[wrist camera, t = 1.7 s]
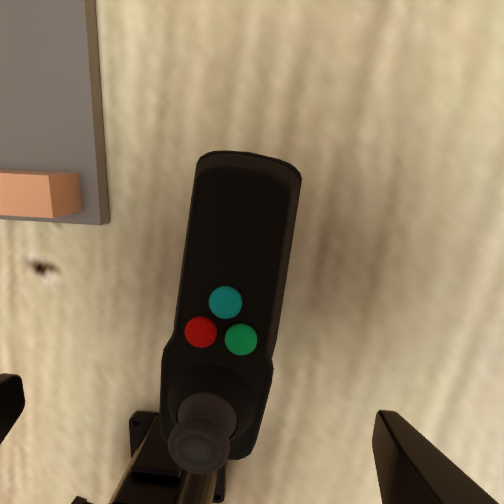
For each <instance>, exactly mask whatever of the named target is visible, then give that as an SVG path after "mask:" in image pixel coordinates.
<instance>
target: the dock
mask: <svg viewBox="0 0 504 504" xmlns="http://www.w3.org/2000/svg"><path fill="white" fill-rule="evenodd" d="M0 219H7V220H23V221H40V222H56V223H72V224H88V225H103V224H106V223H108V222H109V207H108V191H107V176H106V161H105V146H104V130H103V115H102V100H101V85H100V70H99V54H98V39H97V24H96V9H95V0H0Z"/></svg>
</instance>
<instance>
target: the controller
mask: <svg viewBox="0 0 504 504" xmlns="http://www.w3.org/2000/svg"><path fill="white" fill-rule="evenodd" d="M301 182H302V177H301V174H300V172H299V171H298V170H297V169H296V168H295V167H294V166H293V165H291V164H290V163H287V162H285V161H282V160H280V159H276V158H272V157H267V156H263V155H259V154H254V153H250V152H239V151H225V150H223V151H212V152H209V153H206V154H205V155H203V156H201V157H200V158H199V160H198V162H197V164H196V171H195V177H194V184H193V191H192V197H191V204H190V211H189V219H188V226H187V233H186V240H185V248H184V255H183V262H182V269H181V277H180V284H179V291H178V298H177V306H176V313H175V320H174V330H173V334H172V336H171V338H170V340H169V341H168V343H167V344H166V346H165V348H164V350H163V356H162V361H161V389H160V416H159V423H160V431H161V436H162V438H163V439H164V440H165V441H166V443H168V449H169V453H170V455H171V457H172V459H173V460H174V461H175V463H176V464H177V465H178V466H179V467H181V468H182V469H184V470H185V471H188V472H191V473H194V474H207V473H211V472H214V471H216V470H218V469H220V468H221V467H222V466H223V465H224V464H225V462H226V461H227V460H239V459H242V458H245V457H246V456H248V455H249V454H251V452H252V450H253V447H254V445H255V443H256V440H257V437H258V433H259V429H260V425H261V421H262V418H263V414H264V410H265V406H266V403H267V399H268V395H269V391H270V387H271V384H272V377H273V370H274V368H273V363H272V356H273V352H274V348H275V344H276V340H277V334H278V327H279V321H280V315H281V308H282V302H283V296H284V289H285V283H286V277H287V270H288V264H289V258H290V252H291V245H292V239H293V233H294V226H295V220H296V214H297V207H298V201H299V195H300V188H301Z"/></svg>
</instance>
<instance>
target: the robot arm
mask: <svg viewBox="0 0 504 504" xmlns="http://www.w3.org/2000/svg"><path fill="white" fill-rule="evenodd" d="M24 406H25V397H24V390H23V384H22V379H21V377H20V376H19V375H17V374H7V373H3V374H0V444H1V443H2V441H3V440H4V438H5V437H6V435H7V434H8V432H9V431H10V429H11V428H12V427H13V425H14V424H15V422H16V421H17V419H18V418H19V416H20V415H21V413H22V411H23V409H24ZM159 416H160V414H151V413H142V412H135V413H133V415H132V416H131V418H130V420H129V430H130V447H131V461H130V463H129V465H128V467H127V469H126V471H125V473H124V474H123V476H122V478H121V480H120V482H119V484H118V486H117V488H116V490H115V492H114V494H113V496H112V498H111V500H110V502H109V504H212V503H221V502H223V501H224V498H225V488H226V462H225V464H224V465H223V466H222V467H221V468H220V469H218V470H216V471H214V472H211V473H207V474H194V473H191V472H188V471H185V470H184V469H182V468H181V467H179V466H178V465H177V464H176V463H175V461H174V460H173V459H172V457H171V455H170V453H169V449H168V443H166V441H165V440H164V439H163V438H162V436H161V431H160V423H159ZM136 420H139V421H140V422H138V421H136ZM372 448H373V454H374V459H375V465H376V470H377V476H378V482H379V487H380V493H381V498H382V504H499V503H498V502H497V501H495V500H494V499H493V498H492V497H491V496H490V495H489V494H488V493H487V492H485V491H484V490H483V489H482V488H481V487H480V486H479V485H478V484H476V483H475V482H474V481H473V480H472V479H471V478H470V477H469V476H468V475H466V474H465V473H464V472H463V471H462V470H461V469H460V468H459V467H457V466H456V465H455V464H454V463H453V462H452V461H451V460H450V459H449V458H447V457H446V456H445V455H444V454H443V453H442V452H441V451H440V450H438V449H437V448H436V447H435V446H434V445H433V444H432V443H431V442H430V441H428V440H427V439H426V438H425V437H424V436H423V435H422V434H421V433H419V432H418V431H417V430H416V429H415V428H414V427H413V426H412V425H411V424H409V423H408V422H407V421H406V420H405V419H404V418H403V417H402V416H400V415H399V414H398V413H397V412H395V411H388V410H379V411H378V412H377V414H376V418H375V425H374V431H373V437H372ZM71 504H93V503H90V502H87V499H85V498H82V497H80V496H77V497H76V498H75V499H74V500H73V502H72V503H71Z"/></svg>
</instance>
